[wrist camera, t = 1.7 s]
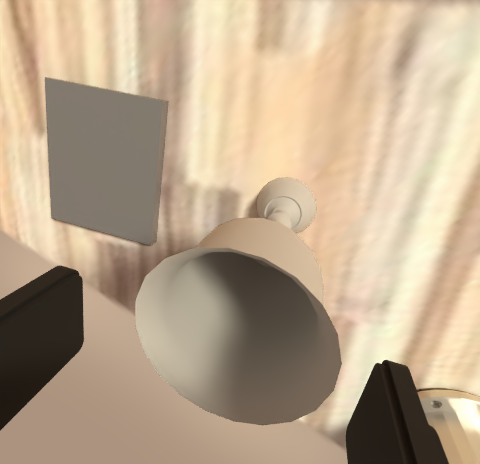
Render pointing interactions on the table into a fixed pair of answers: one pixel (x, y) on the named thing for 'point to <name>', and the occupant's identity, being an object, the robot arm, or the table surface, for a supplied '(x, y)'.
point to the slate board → (105, 158)
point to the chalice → (245, 315)
